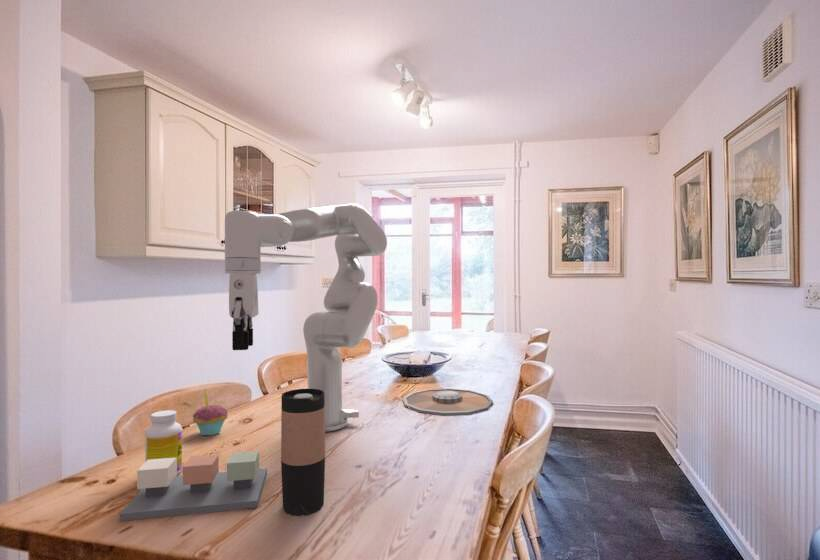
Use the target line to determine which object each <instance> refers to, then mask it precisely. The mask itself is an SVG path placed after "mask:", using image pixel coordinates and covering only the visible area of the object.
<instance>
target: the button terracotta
mask: <svg viewBox="0 0 820 560" xmlns="http://www.w3.org/2000/svg"><path fill="white" fill-rule="evenodd" d="M219 455H220V453H218V454H205V455H190V457H188V459H187V461H186V462H185V463H184V465H182V475H183V485H191V484H202V483H212V482H213V480H214V479H215V477H216V475H217V473H218V472H220V470H219V466H220V465H219V459H220V457H219Z"/></svg>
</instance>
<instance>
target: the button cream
mask: <svg viewBox="0 0 820 560" xmlns="http://www.w3.org/2000/svg"><path fill="white" fill-rule="evenodd" d="M136 471H137V472H136V474H137V475H136V476H137V479H136V480H137V481H136V483H137V484H136V488H137V490H141V489H145V488H156V487H168V486H169V484H170V483H171V482H172V480H173V479H174V478H175V476H176V475H177V457H176V458H163V459H149V460H147V461H146V462H144V463H143V464H142V465H141V466H140V467H139V468H138V469H137V470H136ZM177 476H178V475H177Z"/></svg>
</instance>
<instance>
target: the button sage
mask: <svg viewBox="0 0 820 560" xmlns="http://www.w3.org/2000/svg"><path fill="white" fill-rule="evenodd" d="M258 469H260V451H247V452H246V451H244V452H233V453H232V452H231V455H230V457H229V458H228V460H227V462H226V472H227V481H237V480H248V479H255V478H256V475H257V472H258Z"/></svg>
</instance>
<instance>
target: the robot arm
mask: <svg viewBox="0 0 820 560" xmlns="http://www.w3.org/2000/svg"><path fill="white" fill-rule="evenodd" d="M333 236H336V237H335V240H334V248H335V252H336V256H337V261H338V269H337V271H336V273H335V276H334V277H333V279H332V281H331V283H330V285H329V287H328V289H327V291H326V293H325V295H324V298H323V305H324V309H326V311H317V312H314V313H311V314H309V316H307V318H306V319H305V320H304V322H303V328H302V331H303V332H302V333H303V337H304V342H305V347H306V348H305V349H306V359H307V362H306V363H307V365H306V366H307V367H306V368H307V370H306V371H307V373H306V374H307V385H306V386H307V388H306V389H319V390H322V391H323V392H324V404H325V405H324V406H325V433H326V432H333V431H337V430H341V429H343V428H345V427H347V425H348V421H349V420H348V419H349V418H352V419H355V418H359V415H360V413H359V410H357V409H356V410H354V409H353V408H352V409H346V408H344V405H343V360H342V356H341V353H340V351H339V349H338V348H345V349H346V348H347V349H348V348H349V349H350V348H351V349H352V348H356V347H357V346H359V345H360V343H362V341H363V340H364V337H365V336H366V333H367V331H368V329H369V326H370V324H371V322H372V319H373V317H374V315H375V312H376V310H377V305H378V292H377V290H376V288H375V287H374V286H373V284H370V283H368V282H364V281H365V277H366V273H365V270H364V267H363V265H362V264H361V262H360V259H359V257H377V256H380V255H382V254H383V253H385V251H386V250H387V246H388V241H387V239H388V238H387V235H386V234H385V231H384V229H382V227H381V226H380V225H379V224H378V222H377V221H376V220H375V218H374V217H373V216H372V215H371V214H370V213H369V212H368V210H367V209H365V207H363V206H362V205H360V204H358V203H345V204H337V205H327V206H319V207H318V206H317V207H309V208H302V209H301V208H300V209H295V210H291V211H287V212H280V213H275V214H272V213H271V214H263V213H262V214H261V213H257V212H255V211H251V210H231V211H228V212H226V214H225V216H224V273H225V274H229V278H228V279H229V282H228V283H229V284H228V286H229V287H228V310H229V311H228V312H229V314H228V315H229V317H231V318H232V320H233V321H232V331H231V333H232V334H231V335H232V339H231V341H232V345H231V346H232V347H231V348H232V351H247V350H248V349H249V347H252V346H253V345H254V328H253V319H254V318H256V317H257V316H258V315H259V293H258V292H259V290H258V277H257V274H261V273H262V272H261V270H262V269H261V260H262V259H261V248H272V247H273V248H274V247H282V246H285V245H287V244H288V243H297V242H298V243H300V242H308V241H314V240H319V239H323V238H324V239H325V238H328V237H333Z"/></svg>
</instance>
